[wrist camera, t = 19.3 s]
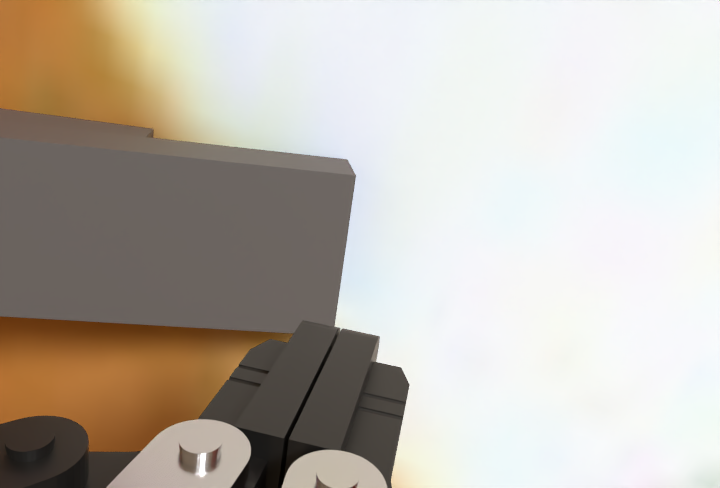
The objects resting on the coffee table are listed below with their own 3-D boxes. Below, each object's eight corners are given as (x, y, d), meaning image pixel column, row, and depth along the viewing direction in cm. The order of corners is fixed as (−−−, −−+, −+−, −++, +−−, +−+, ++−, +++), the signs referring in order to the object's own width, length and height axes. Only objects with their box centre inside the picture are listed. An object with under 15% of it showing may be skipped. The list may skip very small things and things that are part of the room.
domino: (327, 306, 20) (-35, 282, 18) (347, 159, 19) (-49, 115, 17) (332, 335, 18) (-69, 312, 16) (355, 175, 17) (-88, 127, 15)
